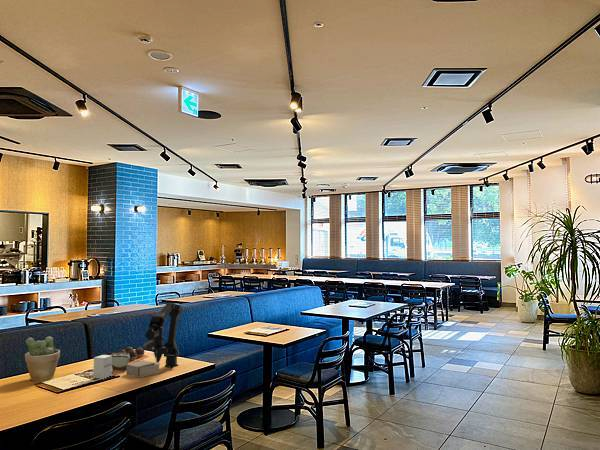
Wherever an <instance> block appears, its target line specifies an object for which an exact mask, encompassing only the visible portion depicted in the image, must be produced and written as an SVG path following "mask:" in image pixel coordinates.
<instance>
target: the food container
mask: <svg viewBox="0 0 600 450" xmlns="http://www.w3.org/2000/svg"><path fill="white" fill-rule="evenodd" d="M111 356H112V372H116V371H117V372H126V366H127V364H128V361H129V358H130V355H129V353H117V352H116V353H115V354H112V355H111Z"/></svg>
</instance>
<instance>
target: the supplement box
mask: <svg viewBox="0 0 600 450" xmlns="http://www.w3.org/2000/svg"><path fill="white" fill-rule="evenodd" d="M112 373H113V371H112V356H111V355H110V354H109V355H108V354H101V355H98V356H95V357H94V356H93V376H92V377H93V378H99V379H98V380H101V379H103V380H105V379H108V378H110V377H109V376H111V377H112ZM107 377H108V378H107ZM104 378H105V379H104Z"/></svg>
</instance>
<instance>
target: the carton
mask: <svg viewBox="0 0 600 450" xmlns="http://www.w3.org/2000/svg"><path fill="white" fill-rule="evenodd" d="M150 365H155V362H153V361H149V360H145V359H143V360H140V361H138V362H134V363H130V364H127V366H126V371H125V372H126V374H125V375H128V376H133V377H135V378H136V377H137V378H140V377H139V368H140V367H145V366H150Z"/></svg>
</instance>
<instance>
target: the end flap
mask: <svg viewBox="0 0 600 450" xmlns="http://www.w3.org/2000/svg"><path fill="white" fill-rule="evenodd" d="M154 358H155V357H154ZM154 360H155V362H154V363H155V365H150V366H145V367H140V368H139V377H138V378H143V377H148V376H152V375H159V374H160V361H159V362H157V358H155V359H154Z"/></svg>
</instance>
